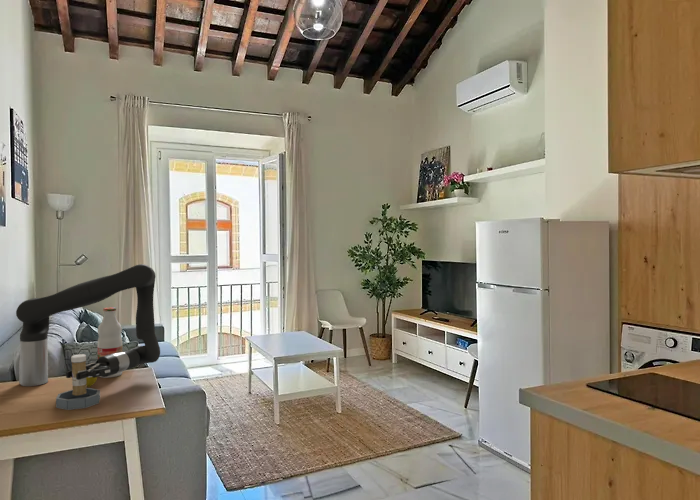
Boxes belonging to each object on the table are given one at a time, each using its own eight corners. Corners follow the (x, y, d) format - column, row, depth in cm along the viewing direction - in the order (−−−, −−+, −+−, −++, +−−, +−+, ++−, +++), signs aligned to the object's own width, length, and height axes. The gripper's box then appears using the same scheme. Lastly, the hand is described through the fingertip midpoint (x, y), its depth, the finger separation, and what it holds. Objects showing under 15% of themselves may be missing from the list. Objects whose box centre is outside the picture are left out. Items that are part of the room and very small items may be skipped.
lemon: (90, 389, 195) (90, 368, 195) (77, 388, 196) (77, 367, 196) (100, 385, 200) (100, 365, 200) (87, 384, 202) (87, 364, 201)
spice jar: (70, 394, 179) (68, 355, 179) (83, 391, 183) (82, 353, 182) (75, 396, 176) (74, 357, 176) (89, 393, 180) (88, 355, 179)
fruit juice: (127, 374, 217) (126, 307, 216) (106, 379, 209) (105, 310, 209) (114, 370, 222) (113, 305, 222) (93, 375, 214) (92, 308, 214)
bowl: (48, 406, 176) (48, 396, 176) (81, 395, 188) (81, 386, 188) (75, 411, 171) (75, 401, 171) (108, 400, 183) (107, 391, 183)
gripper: (98, 352, 195) (57, 363, 179) (127, 355, 189) (86, 367, 174) (99, 372, 195) (57, 384, 180) (127, 376, 190) (87, 389, 174)
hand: (72, 375), depth 177 cm, fingers closed on spice jar, 4 cm apart
